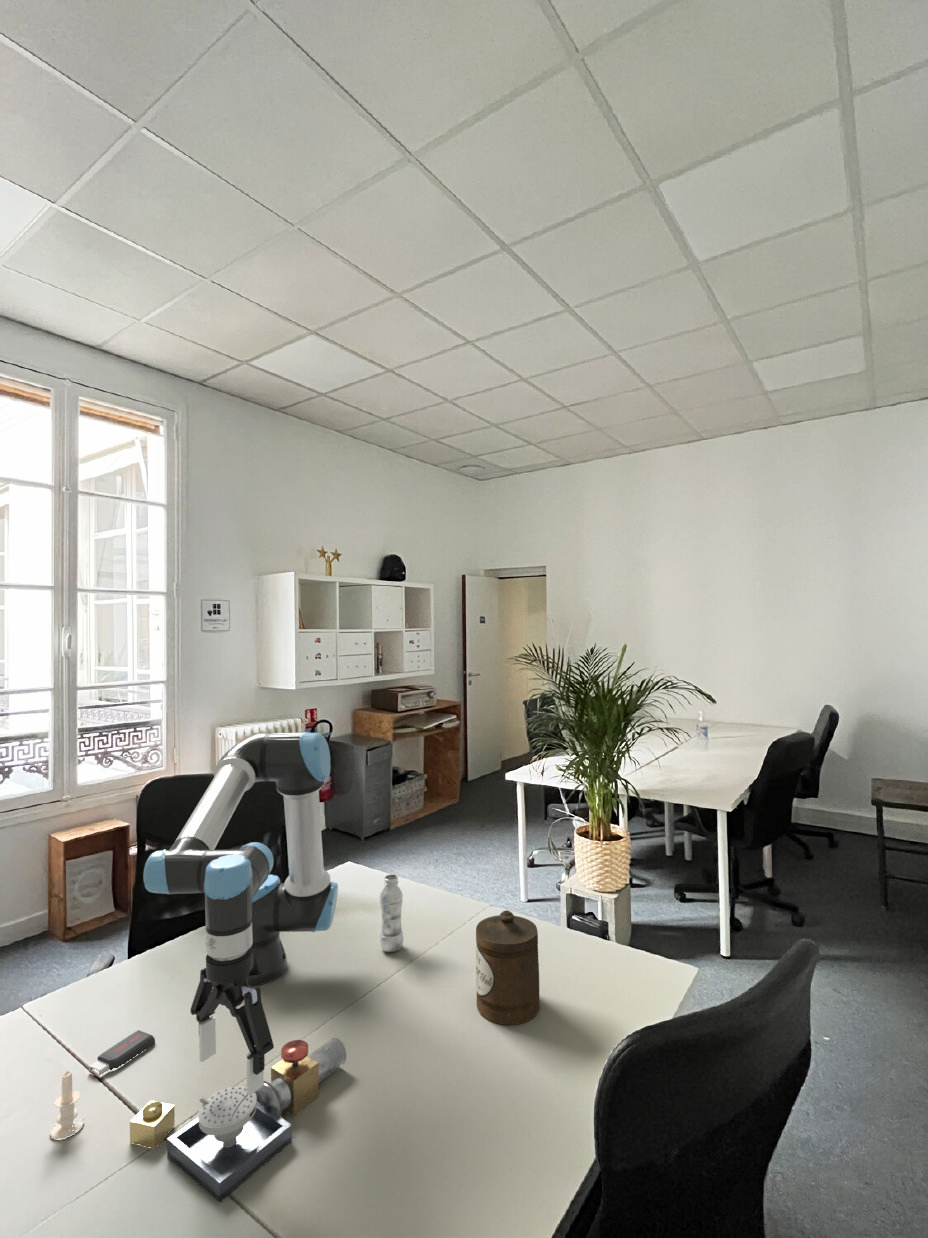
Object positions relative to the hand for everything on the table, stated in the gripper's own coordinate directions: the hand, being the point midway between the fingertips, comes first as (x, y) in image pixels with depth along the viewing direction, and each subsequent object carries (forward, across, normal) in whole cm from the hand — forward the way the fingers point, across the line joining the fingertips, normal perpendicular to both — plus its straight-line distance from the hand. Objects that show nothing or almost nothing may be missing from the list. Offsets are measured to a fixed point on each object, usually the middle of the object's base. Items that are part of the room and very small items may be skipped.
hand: (230, 1073), depth 109 cm
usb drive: (+14, -39, 0) cm, 41 cm away
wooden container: (+14, +18, +61) cm, 66 cm away
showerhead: (+12, 0, -1) cm, 12 cm away
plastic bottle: (+14, -22, +65) cm, 70 cm away
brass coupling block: (+13, -14, -7) cm, 20 cm away
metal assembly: (+13, 0, +8) cm, 16 cm away
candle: (+13, -28, -15) cm, 34 cm away
